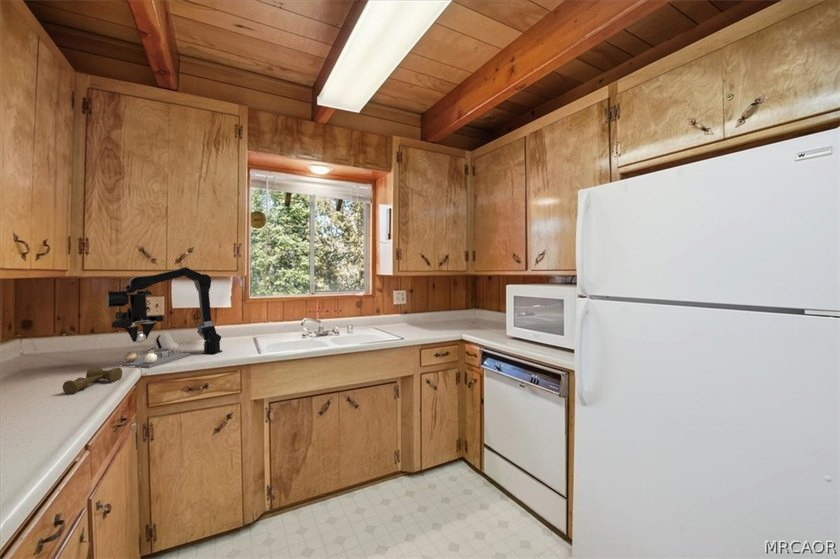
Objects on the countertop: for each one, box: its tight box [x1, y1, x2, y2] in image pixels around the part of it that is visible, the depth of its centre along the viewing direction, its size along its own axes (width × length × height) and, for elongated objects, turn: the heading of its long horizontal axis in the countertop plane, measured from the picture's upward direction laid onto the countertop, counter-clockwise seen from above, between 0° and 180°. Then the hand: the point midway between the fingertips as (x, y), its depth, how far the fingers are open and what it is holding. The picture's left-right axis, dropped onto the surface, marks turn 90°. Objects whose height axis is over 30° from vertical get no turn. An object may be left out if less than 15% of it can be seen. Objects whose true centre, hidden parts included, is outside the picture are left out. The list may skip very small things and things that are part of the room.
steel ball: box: [136, 331, 147, 343], centre depth 154 cm, size 4×4×4 cm
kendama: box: [62, 365, 123, 395], centre depth 129 cm, size 6×10×20 cm
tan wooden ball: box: [123, 351, 138, 362], centre depth 155 cm, size 4×4×4 cm
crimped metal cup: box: [147, 348, 177, 358], centre depth 166 cm, size 10×10×2 cm
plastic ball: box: [144, 353, 157, 363], centre depth 153 cm, size 4×4×4 cm
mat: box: [118, 352, 192, 369], centre depth 161 cm, size 16×21×1 cm
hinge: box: [153, 332, 180, 350], centre depth 181 cm, size 17×5×10 cm, turn 22°
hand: (139, 340), depth 154 cm, fingers closed on steel ball, 4 cm apart
